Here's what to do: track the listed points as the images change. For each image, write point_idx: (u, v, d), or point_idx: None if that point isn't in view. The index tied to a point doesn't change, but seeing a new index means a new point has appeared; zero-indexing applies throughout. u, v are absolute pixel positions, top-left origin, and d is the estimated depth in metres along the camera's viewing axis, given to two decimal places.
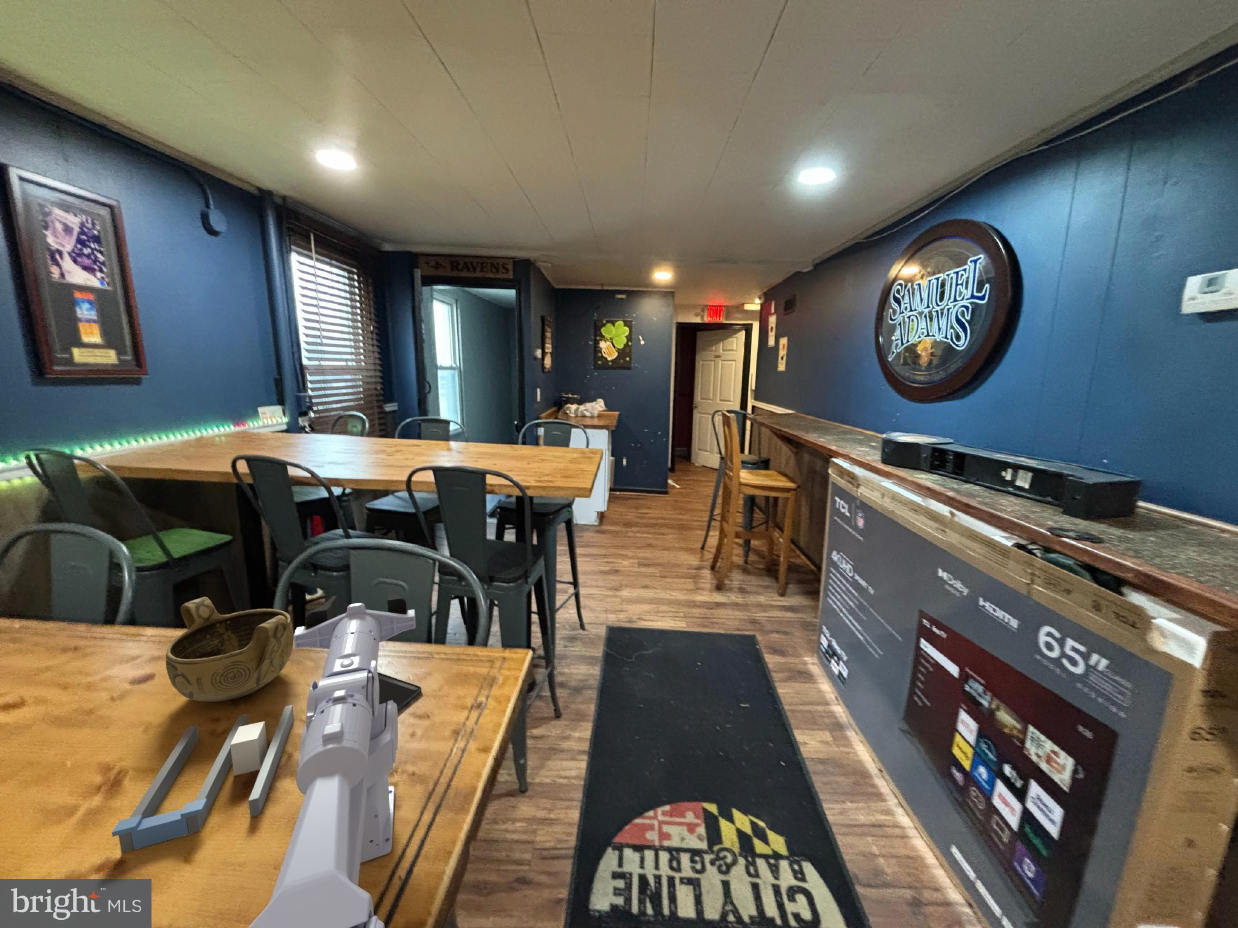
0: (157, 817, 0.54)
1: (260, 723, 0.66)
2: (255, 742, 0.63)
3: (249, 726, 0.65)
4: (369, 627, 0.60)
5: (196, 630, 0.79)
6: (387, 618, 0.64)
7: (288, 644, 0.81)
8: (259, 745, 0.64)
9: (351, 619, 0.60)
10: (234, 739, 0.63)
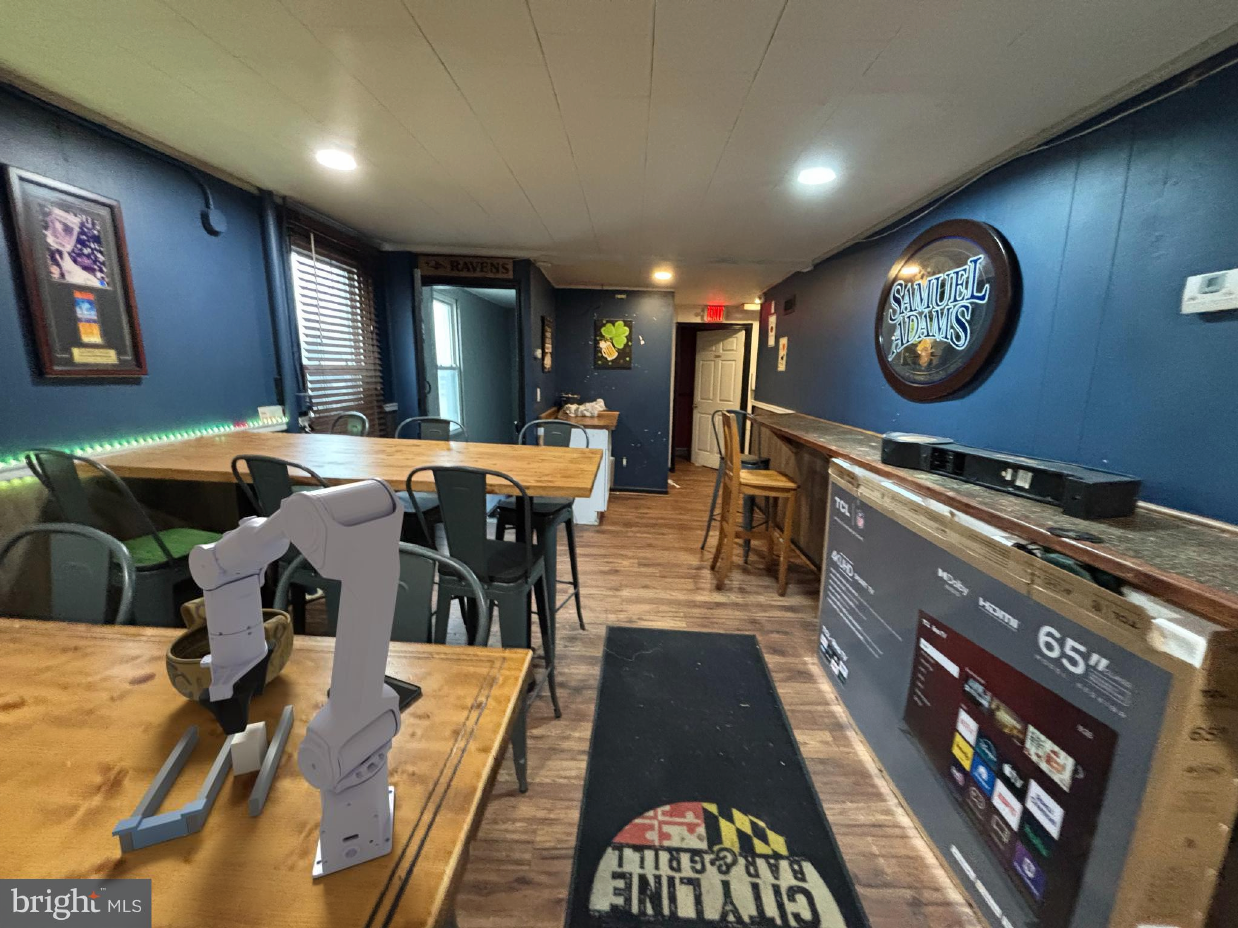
0: (157, 817, 0.54)
1: (260, 723, 0.66)
2: (255, 742, 0.63)
3: (249, 726, 0.65)
4: None
5: (196, 630, 0.79)
6: None
7: (288, 644, 0.81)
8: (259, 745, 0.64)
9: None
10: (234, 739, 0.63)
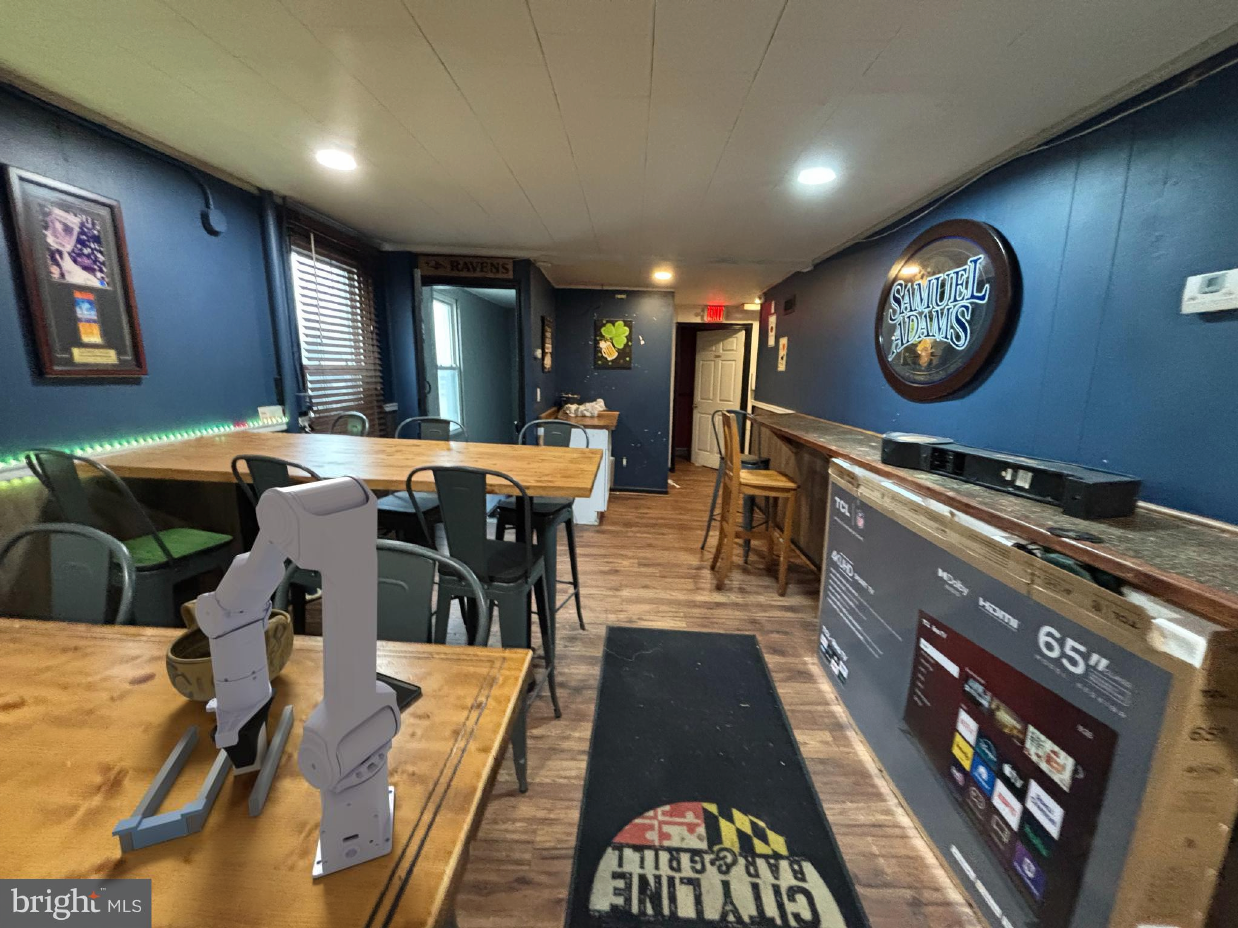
0: (157, 817, 0.54)
1: None
2: None
3: None
4: None
5: (196, 630, 0.79)
6: None
7: (288, 644, 0.81)
8: (259, 745, 0.64)
9: None
10: None
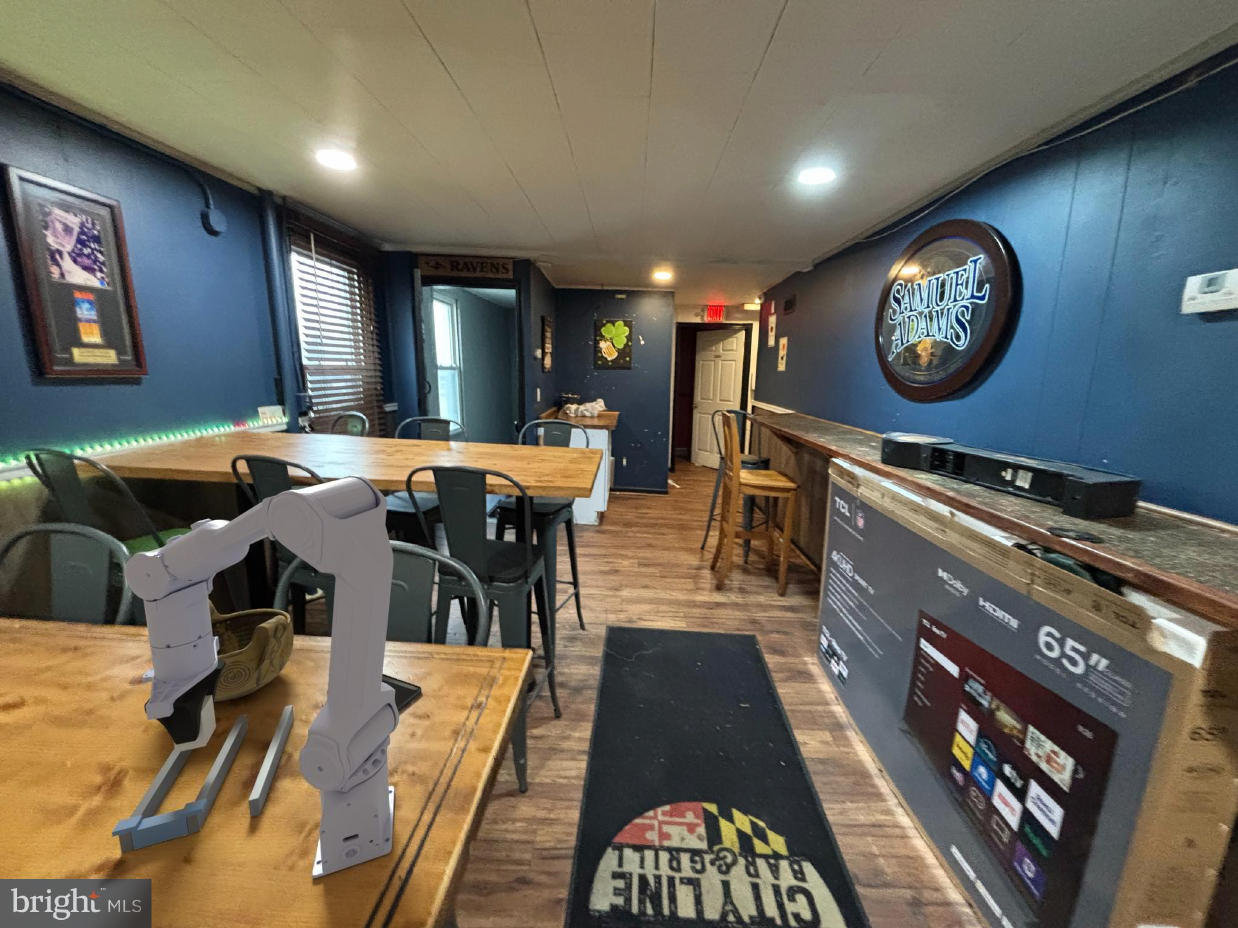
0: (157, 817, 0.54)
1: (207, 697, 0.61)
2: None
3: None
4: None
5: None
6: None
7: (288, 644, 0.81)
8: (204, 720, 0.59)
9: None
10: None
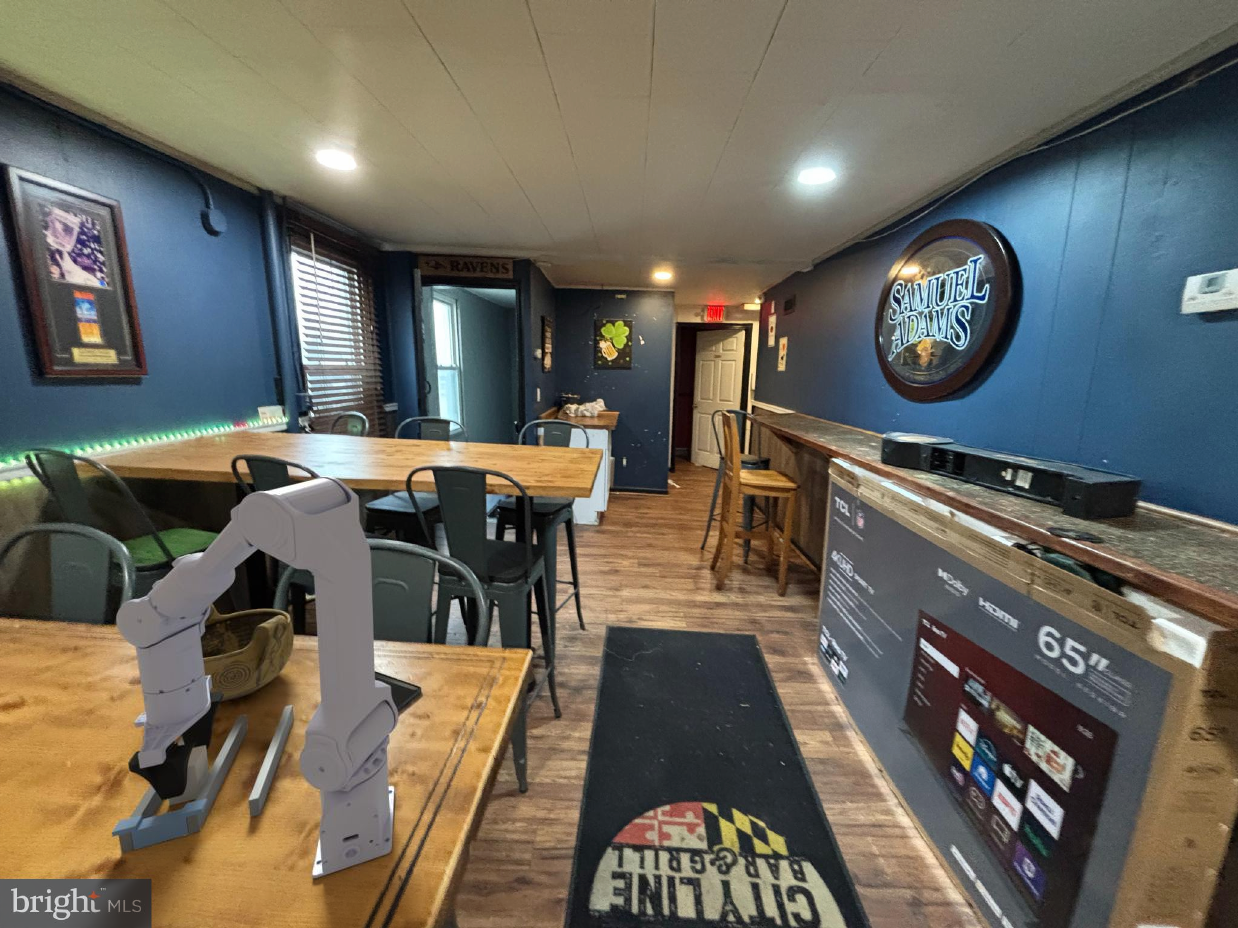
0: (157, 817, 0.54)
1: (200, 747, 0.61)
2: (193, 769, 0.59)
3: None
4: None
5: None
6: None
7: (288, 644, 0.81)
8: (198, 772, 0.60)
9: None
10: None
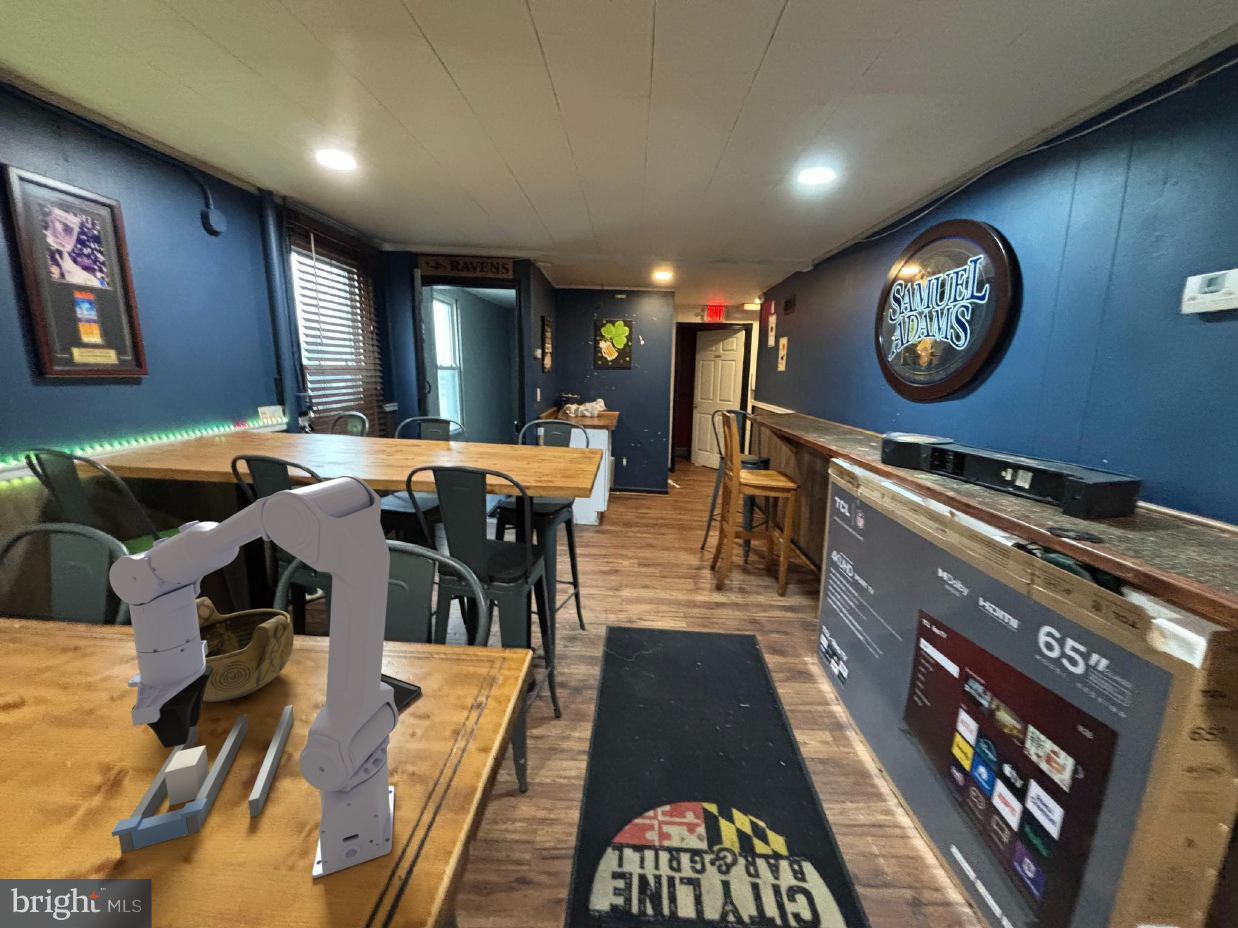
0: (157, 817, 0.54)
1: (200, 747, 0.61)
2: (193, 769, 0.59)
3: (188, 751, 0.61)
4: None
5: None
6: None
7: (288, 644, 0.81)
8: (198, 772, 0.60)
9: None
10: (169, 766, 0.58)
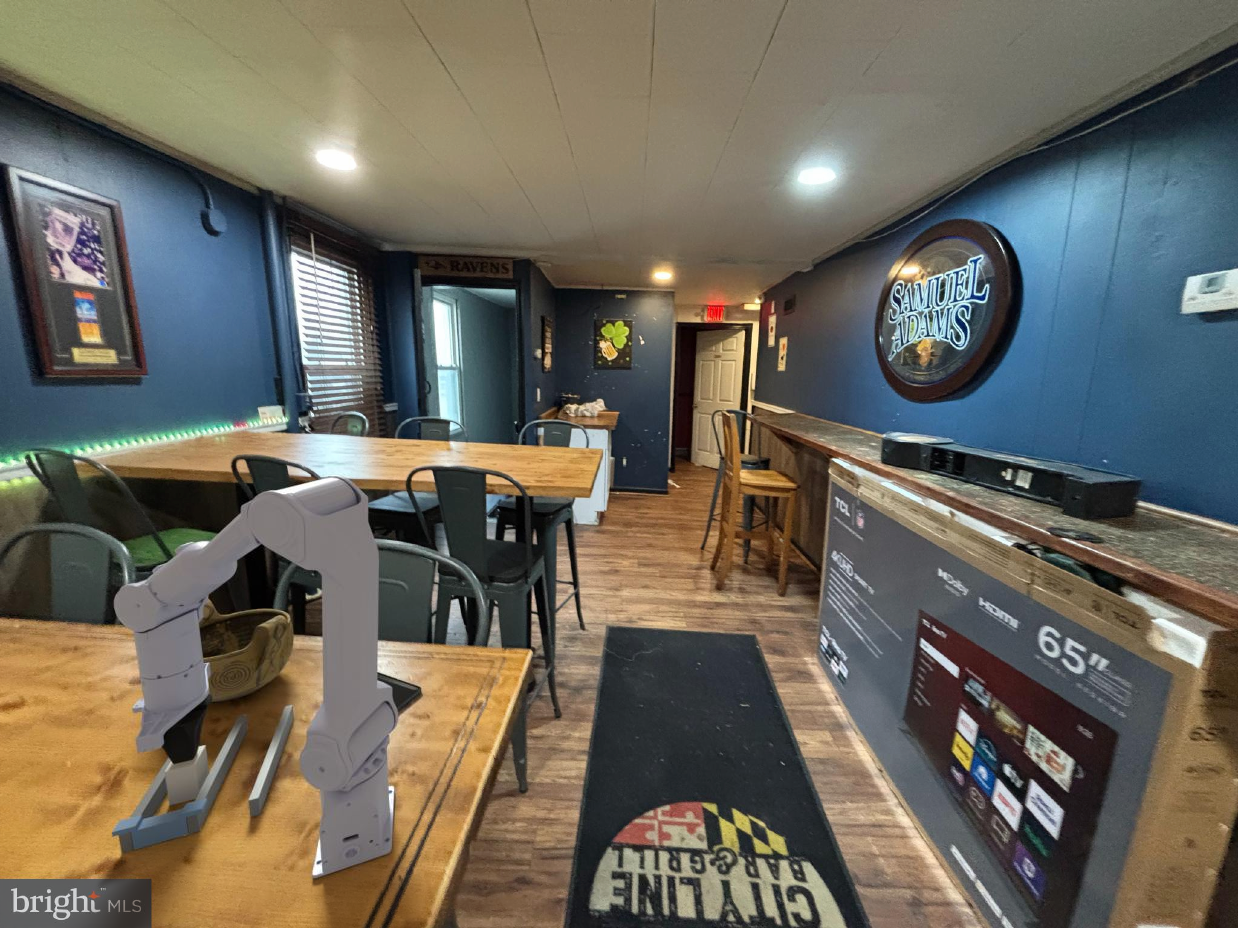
0: (157, 817, 0.54)
1: (200, 747, 0.61)
2: (193, 768, 0.59)
3: None
4: None
5: None
6: None
7: (288, 644, 0.81)
8: (198, 771, 0.60)
9: None
10: (169, 766, 0.58)
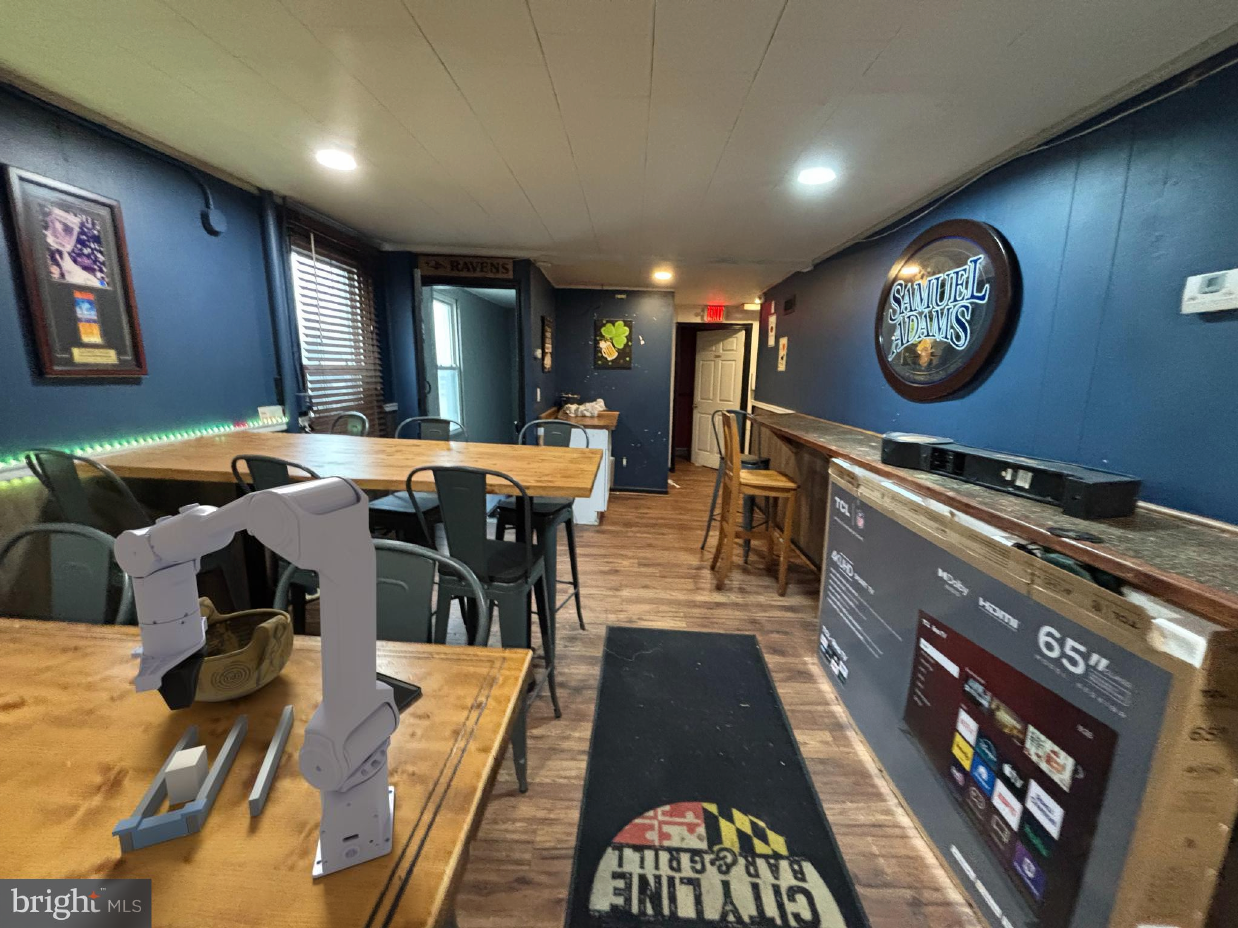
0: (157, 817, 0.54)
1: (200, 747, 0.61)
2: (193, 769, 0.59)
3: (188, 751, 0.61)
4: None
5: None
6: None
7: (288, 644, 0.81)
8: (198, 772, 0.60)
9: None
10: (169, 766, 0.58)
